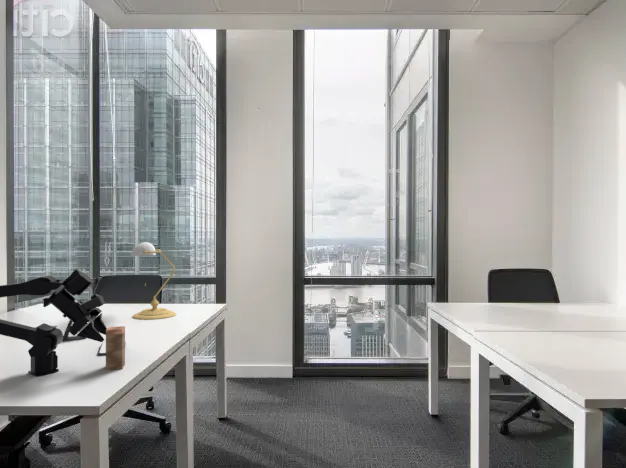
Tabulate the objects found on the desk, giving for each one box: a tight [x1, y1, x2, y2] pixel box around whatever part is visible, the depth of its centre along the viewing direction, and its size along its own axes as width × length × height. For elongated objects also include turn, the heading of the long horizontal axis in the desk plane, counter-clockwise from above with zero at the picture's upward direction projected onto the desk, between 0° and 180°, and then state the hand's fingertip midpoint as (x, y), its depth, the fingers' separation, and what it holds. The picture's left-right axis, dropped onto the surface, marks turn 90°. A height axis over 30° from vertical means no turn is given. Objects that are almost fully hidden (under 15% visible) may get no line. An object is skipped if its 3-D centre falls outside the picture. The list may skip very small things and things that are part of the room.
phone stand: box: [62, 319, 87, 342], centre depth 183 cm, size 9×6×12 cm, turn 114°
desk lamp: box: [129, 241, 177, 321], centre depth 235 cm, size 31×23×40 cm
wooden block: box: [105, 325, 126, 371], centre depth 143 cm, size 5×5×13 cm
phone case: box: [97, 341, 126, 357], centre depth 165 cm, size 9×2×16 cm
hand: (106, 337), depth 143 cm, fingers open, 9 cm apart
